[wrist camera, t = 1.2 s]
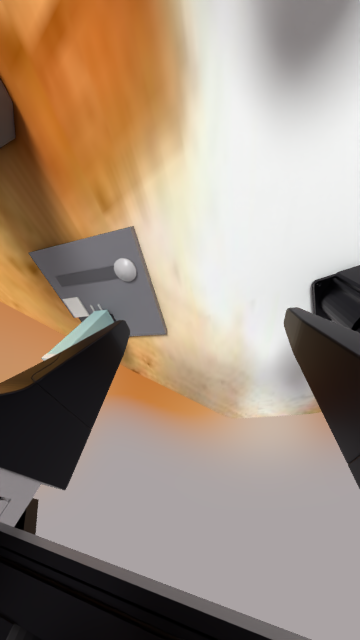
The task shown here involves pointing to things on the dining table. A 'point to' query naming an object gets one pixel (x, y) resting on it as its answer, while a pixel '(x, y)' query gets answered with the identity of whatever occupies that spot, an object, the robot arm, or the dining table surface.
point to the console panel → (104, 279)
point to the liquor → (6, 117)
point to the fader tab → (83, 331)
